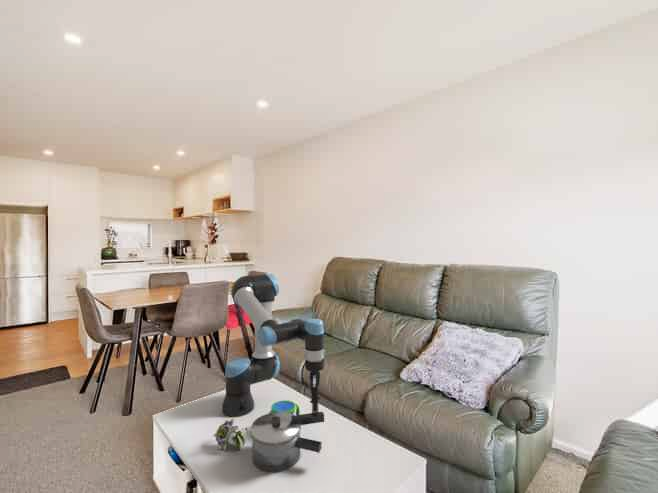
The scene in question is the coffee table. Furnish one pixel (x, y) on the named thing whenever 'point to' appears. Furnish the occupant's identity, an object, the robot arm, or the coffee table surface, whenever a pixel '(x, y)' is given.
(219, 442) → the passion flower
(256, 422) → the cooker lid
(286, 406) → the snack cup
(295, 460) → the cooker pot
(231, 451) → the coffee table surface
